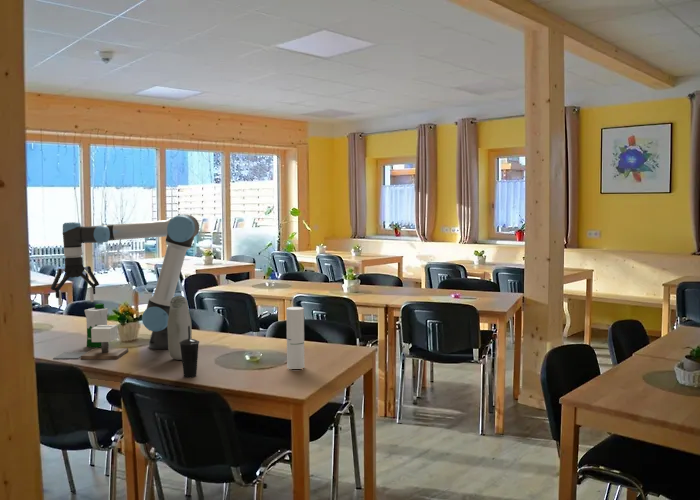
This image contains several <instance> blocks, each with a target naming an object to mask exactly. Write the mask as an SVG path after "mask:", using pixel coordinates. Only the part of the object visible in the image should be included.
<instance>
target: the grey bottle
mask: <svg viewBox="0 0 700 500" xmlns="http://www.w3.org/2000/svg"><path fill="white" fill-rule="evenodd" d="M188 326H190V339H193V338H192V335H193V334H192V332H193V331H192V318H191V315H190V311H189V303H188V300H187V298H186V297H185V296H182V295H176V296H175V295H174V297H173V298H172V300H171V302H170V312H169V317H168V324H167V330H168V349H167V350H168V353H169V355H170V357H171V358H173V359H174V360H177V361H180V360H181V361H182V356H181V348H180V344H179V343H180V342H181V341H183V340H185V339H188Z"/></svg>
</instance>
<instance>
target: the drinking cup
mask: <svg viewBox="0 0 700 500" xmlns="http://www.w3.org/2000/svg"><path fill="white" fill-rule="evenodd" d="M179 344H180V348H181V356H182V360H181V364H182V371H183V377H184V378H187V379H188V378H190V377H191V378H195V377H197V373H198V372H197V371H198V358H199V344H200V341H199V340H198V339H195V338H192V339H190V326H188V339H185V340H183V341H181V342H180V343H179Z"/></svg>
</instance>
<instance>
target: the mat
mask: <svg viewBox="0 0 700 500" xmlns="http://www.w3.org/2000/svg"><path fill="white" fill-rule="evenodd" d="M87 352H88V351H63V352H62V353H60V354H58V355H56V356H54V357H53V358H52V359H53V360H79V359H81V356H82V355H83V354H85V353H87Z"/></svg>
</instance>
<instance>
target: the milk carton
mask: <svg viewBox="0 0 700 500" xmlns="http://www.w3.org/2000/svg"><path fill="white" fill-rule="evenodd" d="M84 314H85V319H86V320H85V322H86V348H92V349H100V348H101V342H92V338H91V329H92V328H94V327H96V326H98V325H108V314H109V308H107V307H105V304H104V303H96V304H94V307H91V308H88V309H84ZM108 345H109V343H108Z"/></svg>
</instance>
